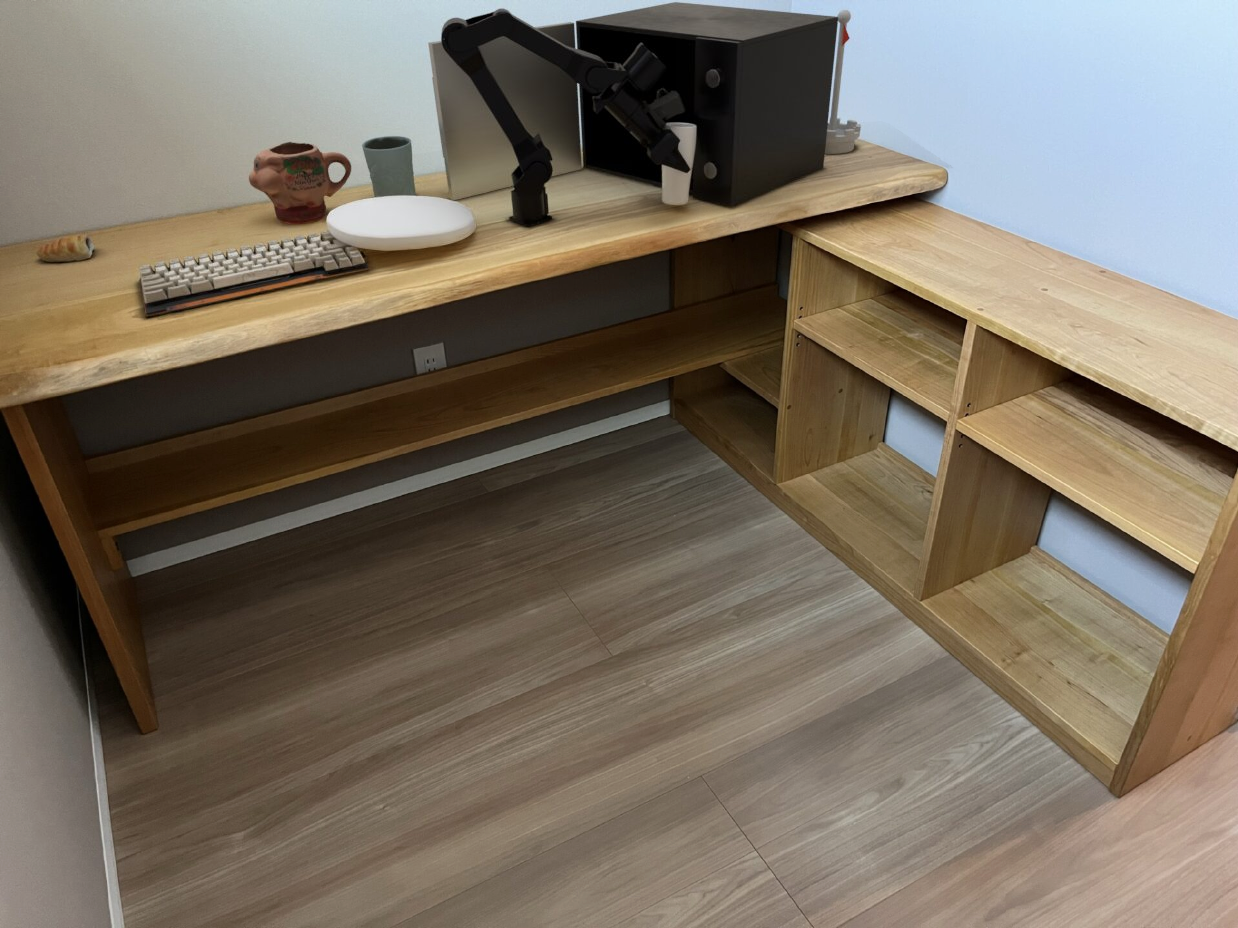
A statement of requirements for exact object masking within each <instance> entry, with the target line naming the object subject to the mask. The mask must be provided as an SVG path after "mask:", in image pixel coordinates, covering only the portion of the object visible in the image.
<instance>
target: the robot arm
mask: <svg viewBox="0 0 1238 928" xmlns="http://www.w3.org/2000/svg"><path fill="white" fill-rule="evenodd" d="M535 27H536V26H533V25H531V24H530V23H528V22H527V21H525V20H522V19H521V18H519V17H517V16H516V15H514V14H513V13H511V12H510V11H509V10H508V9H506V8H498V9H495V10H494V11H492V12H488V13H485V14H484V13H483V14H480V15H476V16H473V17H470V18H467V19H464V18H461V17H452V18H450V19H448V20H446V21H445V22H444V23H443V26H442V27H441V36H440V38H441V39H440V41H441V42H442V46H443V48H444V50H445V51H446V53H447V54H448V55H449V56H450V57H451V58H452V59H453V61H454V62H455V63H456V64H457V65H458V66H459V67H460V68H461V69H462V70H463V71H464V72H465V73H466V74H467V75H468V76H469V77H470V79H471V80H472V82H473V83H474V85H475V87H476V88H477V90H478V91H479V93H480V95H481V96H482V98H483V99H484V101H485V103H486V104H487V106H488V107H489V109H490V111H491V112H492V114H493V116H494V117H495V119H496V120H497V122H498V124H499V125H500V127H501V128H502V130H503V132H504V133H505V135H506V136H507V138H508V140H509V141H510V143H511V145H512V147H513V150H514V152H515V155H516V158H517V160H518V163H519V166H518V167H517V168H516V169H515V170H514V171H513V173H512V174H511V176H512V181H513V186H512V187H513V189H512V190H510V196H511V206H512V215H511V216H509V217H508V220H509V221H510V222H514V223H516V224H519V225H522V226H524V227H525V228H529V227H532V226H535V225H539V224H542V223H545V222H549V221H552V220H553V216H552V215H549V213H550V212H549V211H550V209H549V197H548V193H547V192H546V191H547V190H546V186H545V184H546V183H548V182H549V181H550V179H551V178H552V177H553V176H552V172H553V168H552V165H551V162H550V161H552V160H553V159H552V156H551V153H550V151H549V149H547V148H546V147H545V146H544V144H543V142H542V140H541V137H540V135H539V134H537V135H536V136H535V137H534V138H533V137H532V136H531V135H530V134H529V133H528V132H527V131H526V129H525V128H524V126H523V124H522V123H521V121H520V119H519V118H518V116H517V114H516V113H515V111H514V110H513V108H512V106H511V105H510V103H509V101H508V100H507V98H506V96H505V95H504V93H503V91H502V90H501V88H500V86H499V85H498V83H497V81H496V80H495V78H494V77H493V75H492V73H491V72H490V70H489V68H488V67H487V65H486V63H485V60H484V58H483V55H482V53H481V50H480V47H479V46H481V45H483V44H485V43H488V42H490V41H492V40H494V39H496V38H499V37H502V36H504V37H506V38H508V39H510V40H512V41H514V42H515V43H517V44H519V45H521V46H522V47H524V48H526V49H528V50H529V51H531V52H533V53H535V54H537V55H538V56H540V57H542V58H544V59H545V60H547V61H549V62H551V63H553V64H554V65H556V66H558V67H560V68H561V69H562V70H563V71H564V72H566V73H567V74H568V75H569V76H570V77H571V78H572V79H573V80H575V81H576V82H577V85H578V86H579V85H581V86H582V87H583V88H584V89H585V90H587V91H588V92H590V93H594V94H597V93H599V92H602V91H603V92H602V93H601V94H600V95H599V96H593V97H592V99H593V110H594V111H595V113H596V114H598V113H599V112H600V111H601V110H602V109H603V108H604V107H605V108H606V109H607V110H608V111H609V112H610V113H611V114H612V115H613V116H614V117H615V118H616V119H617V120H618V121H619V122H620V123H621V124H622V125H623V126H624V128H625V129H626V130H627V131H628V132H629V133H631V134H632V135H633V136H634V137H635V138H636V139H637V140H638V141H639V143H640V144H641V145H642V146H643V147H646V148H647V154H648V156H649V157H650V159H651V160H652V161H653V162H654V163H655V164H656V165H659V164H662V165H665V166H668V167H671V168H673V169H676V170H679V171H682V172H684V173H688V172H689V171H690V167H689V166H688V164H687V163H686V161H685V159H684V158H683V156H682V155H681V153H680V152H679V150H678V145H679V142H680V139H679V138H678V137H677V136H676V134H675V133H674V132H673V131H672V130H671V129H663V128H664V126H665V125H666V123H665V122H664V121H665V120H668V119H670V118H671V117H673V116H675V115H677V114H681V113H683V112H684V111H685V107H684V105H683V102H682V100H681V97H680V95H679V94H678V93H677V92H676V91H673V90H672V91H671V92H670V93H669V92H668V91H667V90H665V89H664V88H662V89H660V90H658V91H657V98H656V99H655V100H654V102H653V103H651V104H650V105H648V104H647V103H646V101H644V102H643V101H642V100H641V99H640V98H639V97H638V96H637V95H636V94H635V93H634V92H633V91H632V90H631V89H630V88H629V87H628V86H627V85H626V84H625V83H626V82H627V80H628V81H629V83H630V84H631V85H632V86H633V87H634V88H635V89H636V90H637V91H638V92H639V93H640V92H641V90H642V91H643V92H644V91H645V90H646V91H647V92H648V91H649V90H650V89H651V88H652V86H653V85H654V84H655V83H656V82H657V81H658V80H659V79H660V77H661V76H662V75H663V74H664V73H665V72H666V71H667V70H668V68H667V67H666V66H665V65H664V64H663V63H662V62H661V61H660V60H659V58H658V57H657V56H655V55H654V54H653V53H651V52H650V51H649V50H648V49H647V48H646V46H645V45H644V44H643V43H640V44H639V45H638V46H637V47H636V49H635V51H634V52H633V53H632V55H631V56H630V57H629V58H628V59H627V60H626V61H625V63H624V64H623V65H621V64H620V63H613V62H604V61H603V60H602V59H601V58H600V57H599V56H597V55H594V54H591V53H588V52H585V51H582V50H579V49H577V48H576V47H575V48H576V49H575V48H572V47H569V46H566V45H564V44H563V43H561V42H559V41H557V40H556V39H554V38H552V37H550V36H549V35H547V34H545V33H543V32H542V31H540V30H538V29H536V28H535ZM612 84H614V85H613V86H612V87H611V86H610V85H612ZM662 129H663V130H662ZM551 176H552V177H551Z"/></svg>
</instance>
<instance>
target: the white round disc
mask: <svg viewBox="0 0 1238 928" xmlns="http://www.w3.org/2000/svg"><path fill="white" fill-rule="evenodd" d="M326 228H327V231H328V230H329V232H330V233H331V234H332V235H333V236H334V237H335V238H336V239H338V240H340V241H341V242H343V243H346V244H348V245H351V246H354V247H356V248H359V249H365V250H370V251H371V250H372V251H373V250H374V251H382V252H383V251H384V252H387V251H407V250H418V249H419V250H421V249H426V248H427V249H428V248H435V247H443V246H446V245H451V244H454V243H457V242H460V241H462V240H465V239H466V238H468V237H469V236H471V235H472V234H473V233H474V232H475V231H476V230H477V223H476V218H475V215H474V212H473V210H472V209H471V208H470V207H468V206H467V205H465V204H463V203H460V202H458V201H457V200H451V199H450V198H449V199H448V198H442V197H437V196H430V195H429V196H428V195H427V196H426V195H416V196H384V197H375V196H374V197H367V198H363V199H357V200H353V201H350V202H347V203H343V204H342V205H339V206H337V207H335V208H333V209H332V210H329V213H328V214H327V216H326Z"/></svg>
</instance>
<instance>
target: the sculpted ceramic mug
mask: <svg viewBox="0 0 1238 928" xmlns="http://www.w3.org/2000/svg"><path fill="white" fill-rule="evenodd" d="M334 163H338V164H340V165H341V166H342V167H343V168H344V172H345V173H344V175H343V176H342V178H341V179H340V180H339V181H337V182H336V181H335V182H334V181H332V180H331V178H330V173H329V168H330V166H331V165H332V164H334ZM351 173H352V164H351V161H350V160H349V158H348V157H347V156H346V155H344V154H342V153H340V152H335V151H330V152H321V151H320V149H319V148H318V146H317V145H315V144H312V143H306V142H294V141H293V142H292V141H287V142H284V143H280V144H277V145H274V146H272V147H270V148H267V149H265V150H261V151H259V152H258V153H257V154H256V155H255V157H254V160H253V169H252V171H251V172H250V173H249V175H248V181H249V184H250V186H252V187H253V189H256V190H258V191H260V192H261V193H264V195H266V196H267V197H268V199H269V200H270V201H271V202H272V204H273V206H274V207H273V209H274V213H275V216H276V218H277V220H279V221H280V222H283V223H286V224H289V225H290V224H291V225H294V224H295V225H297V224H298V225H299V224H308V223H314V222H317V221H320V220H322V219H323V218H324V217H325V215H326V212H327V206H326V202H325V201H326V200H325V197H329V198H331V197H333V196H334V195H335V194H336V193H337V192H338V191H340V190H341V189H342V188H343V186H344V185H346V183H347V181H348V179H349V178H350V176H351Z"/></svg>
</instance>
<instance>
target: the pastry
mask: <svg viewBox="0 0 1238 928" xmlns="http://www.w3.org/2000/svg"><path fill="white" fill-rule="evenodd" d="M93 250H95V243H94V242H93V241H92V239H91V238H90V236H89V235H88V234H86V233H83V234H80V235H68V236H63V237H62V238H56V239H55V240H53V241H51V242H49V243H47V244H45V245H43V246H41V247H39V248H38V250H36V252H35V254H36V255H37V257H38V258H39V259H40V260H42V261H44V262H50V263H53V262H54V263H55V262H56V263H57V262H58V263H60V262H73V261H84V260H86V259H90V258H91V257H92V255H93Z"/></svg>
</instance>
